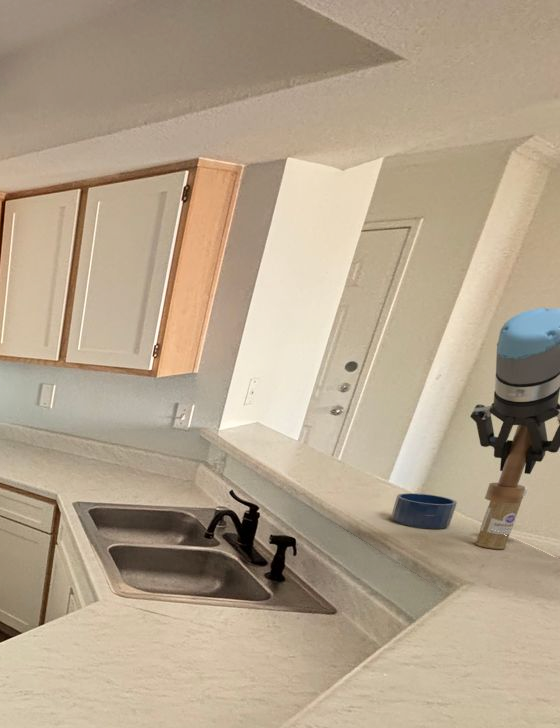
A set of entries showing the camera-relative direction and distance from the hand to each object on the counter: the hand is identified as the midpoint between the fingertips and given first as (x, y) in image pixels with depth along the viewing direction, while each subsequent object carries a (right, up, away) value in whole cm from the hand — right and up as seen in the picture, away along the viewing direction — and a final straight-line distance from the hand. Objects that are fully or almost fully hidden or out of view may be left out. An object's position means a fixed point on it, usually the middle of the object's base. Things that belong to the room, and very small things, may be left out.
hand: (517, 466), depth 116 cm
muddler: (-3, -7, 0) cm, 7 cm away
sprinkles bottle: (+5, -16, +9) cm, 19 cm away
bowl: (+5, -10, +24) cm, 27 cm away
